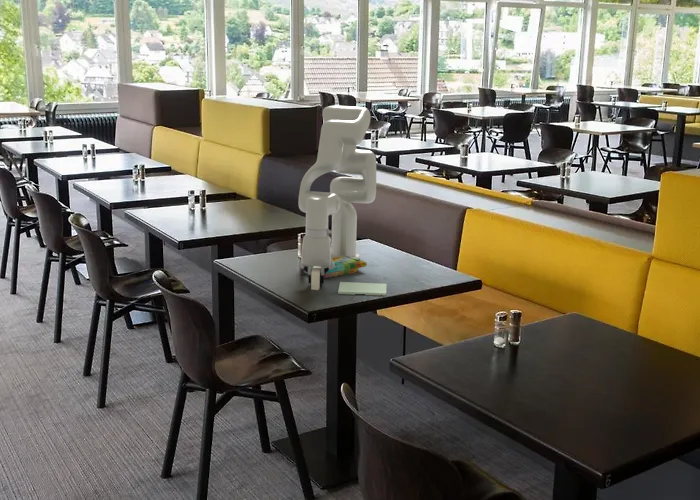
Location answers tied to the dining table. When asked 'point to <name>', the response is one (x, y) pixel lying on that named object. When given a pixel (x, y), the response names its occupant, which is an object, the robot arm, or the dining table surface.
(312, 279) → the card box
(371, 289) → the mat
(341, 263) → the puzzle game
